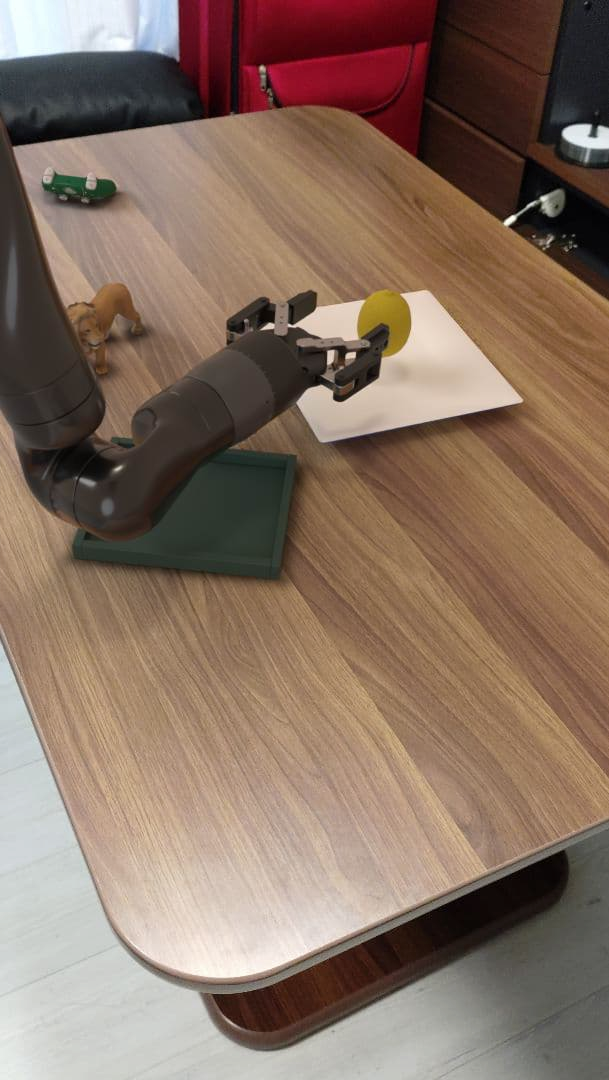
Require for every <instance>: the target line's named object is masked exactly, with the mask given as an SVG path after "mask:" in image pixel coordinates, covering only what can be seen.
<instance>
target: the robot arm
mask: <svg viewBox="0 0 609 1080" xmlns="http://www.w3.org/2000/svg"><path fill="white" fill-rule="evenodd" d="M24 181H25V180H24V177H23V174H22V172H21V169H20V166H19V163H18V159H17V157H16V154H15V151H14V148H13V145H12V141H11V139H10V136H9V133H8V129H7V126H6V123H5V121H4V117H3V114H2V112H1V110H0V413H1V415H2V416H3V417H4V419H5V421H6V422H7V424H8V425H9V427H10V428H11V429H12V435H13V441H14V446H15V450H16V453H17V456H18V457H17V458H18V460H19V463H20V468H21V471H22V475H23V478H24V481H25V483H26V485H27V487H28V489H29V491H30V493H31V495H33V497H34V498H35V500H36V501H37V502H38V503H39V505H40V506H41V507H42V508H43V509H44V510H45V511H46V512H48V513H49V514H50V515H52V516H53V517H55V518H57V519H58V520H61V521H63V522H65V523H68V524H69V525H72V526H73V527H76V528H77V529H78V528H80V529H82V530H84V531H87V532H89V533H91V534H93V535H95V536H97V537H99V538H101V539H104V540H107V541H111V542H124V541H129V540H132V539H135V538H138V537H140V536H142V535H144V534H146V533H148V532H149V531H150V530H152V529H153V528H154V527H155V526H156V525H157V524H159V522H160V521H161V520H162V519H163V518H164V516H165V515H166V513H167V512H168V511H169V509H170V508H171V507H172V505H173V504H174V502H175V501H176V500H177V498H178V497H179V496H180V494H181V493H182V492H183V490H184V489H185V488H186V487H187V485H188V484H189V482H190V481H191V479H192V478H193V476H194V475H195V474H196V472H197V471H198V470H199V469H201V468H202V467H204V466H205V465H207V464H208V463H210V462H211V461H212V460H214V459H215V458H217V457H218V456H219V455H221V454H222V453H223V452H225V451H226V450H227V449H229V448H232V447H234V446H236V445H238V444H240V443H242V442H243V441H246V440H248V439H249V438H251V437H252V436H253V435H254V434H256V433H257V432H259V431H261V430H262V429H263V428H264V427H265V426H267V425H268V424H269V423H271V422H272V421H274V420H275V419H276V418H278V417H279V416H280V415H282V414H283V413H285V412H286V411H287V410H289V409H290V408H291V407H293V406H294V405H295V404H297V403H296V402H297V401H298V400H299V399H300V398H301V396H302V395H303V394H304V392H305V391H306V390H307V389H309V388H312V387H317V386H320V385H323V386H325V387H326V388H328V389H330V390H332V391H333V400H334V401H336V402H344V401H345V400H347V399H348V398H350V397H351V396H353V395H354V394H356V393H357V392H359V391H360V390H362V389H363V388H365V387H366V386H368V385H369V384H371V383H372V382H374V381H375V380H377V379H378V378H379V375H380V368H381V360H382V353H381V352H383V350H385V349H387V347H388V344H389V337H390V332H389V326H388V325H386V324H384V323H381V324H379V325H378V326H376V327H375V328H374V329H372V330H371V331H369V332H368V333H367V334H365V335H364V336H362V337H361V340H351V341H344V340H343V339H342V338H341V337H335V338H325V339H323V338H321V337H318V336H316V335H312V334H309V333H308V332H307V331H305V330H304V329H302V328H300V327H298V326H297V327H296V328H294V327H288V324H290V325H295V324H296V323H298V322H299V321H301V320H302V319H304V318H305V317H307V316H308V315H310V314H311V313H313V312H314V311H315V309H316V308H317V307H318V305H317V304H318V292H317V291H315V290H313V289H308V290H307V291H305V292H304V291H303V292H299V293H297V294H296V295H294V296H293V297H291V298H290V299H288V300H286V301H285V300H283V301H282V300H280V301H277V302H276V303H273V302H271V300H270V298H269V297H267V296H260V297H257V298H256V299H255V300H254V301H252V302H251V303H249V304H248V305H246V306H245V307H243V308H241V310H239V311H237V312H236V313H234V314H233V315H232V316H229V318H228V319H226V321H225V322H226V328H225V338H226V345H225V346H224V347H223V348H221V349H219V350H218V351H216V352H215V353H213V354H212V355H210V356H209V357H207V358H206V359H204V360H202V361H201V362H199V363H198V364H197V365H195V366H193V367H192V369H190V370H189V371H188V372H187V373H186V374H185V375H183V376H182V377H180V378H179V379H178V380H176V381H175V382H174V383H172V384H170V385H169V386H167V387H166V388H164V389H162V390H161V391H160V392H158V393H155V394H154V395H153V396H152V397H150V398H149V399H147V400H146V401H145V402H143V404H141V405H140V406H139V407H138V408H137V409H136V410H135V412H134V413H133V415H132V419H131V422H130V434H131V439H133V442H134V444H135V446H134V447H132V448H129V449H127V448H124V447H121V446H119V445H116V444H114V443H111V442H110V440H109V441H108V440H106V439H103V438H101V437H100V436H99V435H98V434H97V433H96V432H97V430H98V429H99V428H100V426H101V424H102V423H103V421H104V419H105V416H106V411H107V401H106V395H105V393H104V390H103V387H102V384H101V382H100V380H99V377H98V375H97V372H96V370H95V369H94V366H93V364H92V362H91V360H90V358H89V356H87V354H86V352H85V349H84V347H83V345H82V343H81V341H80V339H79V337H78V335H77V332H76V330H75V328H74V326H73V324H72V322H71V320H70V318H69V315H68V313H67V310H66V308H67V307H66V306H65V303H64V301H63V299H62V297H61V293H60V291H59V289H58V286H57V283H56V280H55V277H54V275H53V271H52V268H51V264H50V262H49V259H48V257H47V253H46V249H45V245H44V242H43V239H42V236H41V232H40V229H39V226H38V221H37V219H36V216H35V213H34V212H35V211H34V209H33V205H32V202H31V200H30V196H29V193H28V190H27V187H26V184H25V182H24ZM269 323H273V324H275V326H274V329H266V330H261V329H262V328H263V327H265V326H266V325H268V324H269ZM331 350H334V360H333V362H332V363H331V364H329V365H327V354H328V351H331ZM351 352H356V356H355V358H349V359H345V358H346V354H347V353H351Z"/></svg>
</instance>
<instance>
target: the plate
mask: <svg viewBox="0 0 609 1080" xmlns="http://www.w3.org/2000/svg"><path fill="white" fill-rule="evenodd" d="M399 294H400V295H401V296H402V297H403V298H404V299H405V300H406V302H407V303H408V305H409V308H410V313H411V331H410V335H409V338H408V340H407V342H406V344H405V346H404V347H403V348H402V349H401V350H400V351H399V352H398V353H396V354H394V355H392V356H389V357H383V358H382V360H381V368H380V375H379V378H378V379H377V380H375V381H374V382H372V383H371V384H369V385H368V386H366V387H365V388H363V389H362V390H360V391H359V392H357V393H356V394H354V395H353V396H351V397H350V398H348V399H347V400H345V401H344V402H336V401H334V400H333V391H332V390H330V389H328V388H326V387H325V386H323V385H320V386H317V387H312V388H309V389H307V390H306V391H305V392H304V394H303V395H302V396H301V398H300V399H299V400H298V401H297V402H296V403H295V404H296V405H297V407H298V409H299V410H300V412H301V414H302V415H303V417H304V419H305V420H306V421H307V423H308V425H309V427H310V428H311V430H312V431H313V433H314V435H315V437H316V438H317V441H318V442H320V443H322V444H325V445H327V444H330V443H331V444H332V443H335V442H341V441H346V440H351V439H357V438H360V437H366V436H370V435H375V434H380V433H385V432H389V431H395V430H400V429H404V428H409V427H415V426H419V425H423V424H425V425H426V424H429V423H434V422H439V421H443V420H449V419H453V418H458V417H463V416H469V415H473V414H478V413H484V412H488V411H493V410H498V409H502V408H508V407H512V406H517V405H520V404H522V403H523V401H524V399H523V398H522V397H521V395H519V394H518V392H517V391H516V390H515V389H514V388H513V386H512V385H511V384H510V383H509V381H507V380H506V378H505V377H504V375H502V373H500V371H499V370H498V369H497V368H496V367H495V366H494V364H493V363H492V362H491V361H490V360H489V358H488V357H487V356H486V355H485V354H484V353H483V352H482V350H481V349H480V348H479V347H478V346H477V345H476V344H475V343H474V341H473V340H472V339H471V338H470V336H469V335H468V334H467V333H466V332H465V331H464V330H463V329H462V327H461V326H460V325H459V324H458V322H457V321H456V320H455V319H454V318H453V317H452V316H451V315H450V313H449V312H448V311H447V310H446V309H445V307H443V306H442V304H441V303H440V302H439V301H438V300H437V298H436V297H435V296H434V295H433V294H432V292H430V290H428V289H427V290H426V289H424V290H418V291H410V292H405V293H399ZM365 301H366V299H360V300H355V301H348V302H343V303H337V304H330V305H323V306H316V309H315V311H314V312H313V313H311V314H310V315H308V316H307V317H305V318H304V319H302V320H301V321H299V322H298V323H296V324H295V325H290V324H288V327H294V328H296V327H297V326H298V327H300V328H302V329H304V330H305V331H307V332H308V333H309V334H312V335H316V336H318V337H321V338H323V339H325V338H335V337H341V338H342V339H343V340H344V341H351V340H359V338H358V334H357V322H358V316H359V313H360V310H361V307H362V305H363V304H364V302H365ZM274 326H275V324H273V323H269V324H268V325H266V326H265V327H263V328H262V329H261V330H266V329H274ZM355 356H356V352H351V353H347V354H346V358H345V359H349V358H355ZM333 360H334V350H331V351H328V354H327V365H329V364H331V363H332V362H333Z"/></svg>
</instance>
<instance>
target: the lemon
mask: <svg viewBox="0 0 609 1080" xmlns="http://www.w3.org/2000/svg"><path fill="white" fill-rule="evenodd" d="M400 294H401V293H398V292H396V291H395V290H392V289H389V288H386V289H382V290H381V289H380V290H377V291H375V292H373V293H372V294H370V296H368V297H367V298H366V299H365V300H366V301H365V302H364V304H363V305H362V307H361V310H360V313H359V316H358V322H357V334H358V338H359V340H361V337H362V336H364V335H365V334H367V333H368V332H369V331H371V330H372V329H374V328H375V327H376V326H378V325H379V324H381V323H384V324H386V325H388V326H389V332H390V337H389V344H388V347H387V349H385V350H383V352H381V353H382V358H383V357H389V356H392V355H394V354H396V353H398V352H399V351H400V350H401V349H402V348H403V347H404V346H405V344H406V342H407V340H408V338H409V335H410V331H411V313H410V308H409V305H408V303H407V302H406V300H405V299H404V298H403V297H402V296H401V295H400Z"/></svg>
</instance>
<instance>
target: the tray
mask: <svg viewBox="0 0 609 1080" xmlns="http://www.w3.org/2000/svg"><path fill="white" fill-rule="evenodd" d="M109 442H111V443H114V444H116V445H119V446H121V447H124V448H127V449H129V448H132V447H134V446H135V444H134V442H133V439H132V437H131V438H130V437H120V436H111V438H110V440H109ZM297 456H298V455H297V454H290V453H280V452H270V451H262V450H261V451H260V450H250V449H242V448H241V449H240V448H232V447H230V448H229V449H227V450H226V451H225V452H223V453H222V454H221V455H219V456H218V457H217V458H215V459H214V460H212V461H211V462H210V463H208V464H207V465H205V466H204V467H202V468H201V469H199V470H198V471H197V472H196V474H195V475H194V476H193V478H192V479H191V481H190V482H189V484H188V485H187V487H186V488H185V489H184V490H183V492H182V493H181V494H180V496H179V497H178V498H177V500H176V501H175V502H174V504H173V505H172V507H171V508H170V509H169V511H168V512H167V513H166V515H165V516H164V518H163V519H162V520H161V521H160V522H159V524H157V525H156V526H155V527H154V528H153V529H152V530H150V531H149V532H148V533H146V534H144V535H142V536H140V537H138V538H135V539H132V540H129V541H124V542H111V541H107V540H104V539H101V538H99V537H97V536H95V535H93V534H91V533H89V532H87V531H84V530H82V529H80V528H78V527H77V531H76V533H75V536H74V538H73V541H72V544H71V547H72V553H73V559H80V560H88V561H97V562H98V561H99V562H108V563H117V564H118V563H119V564H127V565H137V566H147V567H157V568H165V569H177V570H185V571H186V570H187V571H195V572H205V573H212V574H213V573H215V574H223V575H224V574H225V575H232V576H233V575H234V576H243V577H254V578H261V579H262V578H263V579H274V580H280V579H281V572H282V565H283V558H284V552H285V545H286V538H287V530H288V524H289V517H290V511H291V503H292V499H293V492H294V491H293V490H294V483H295V478H296V470H297V459H298V458H297Z"/></svg>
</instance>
